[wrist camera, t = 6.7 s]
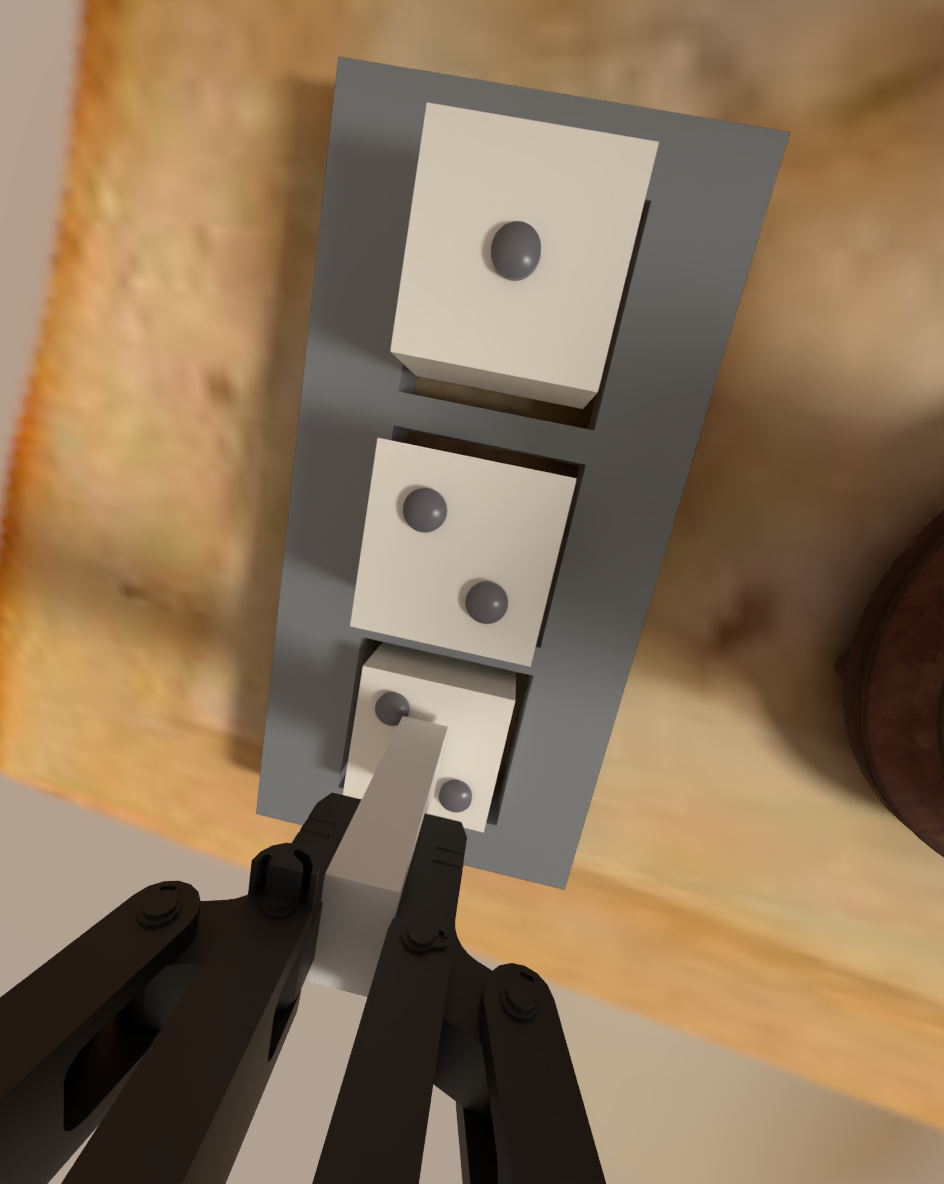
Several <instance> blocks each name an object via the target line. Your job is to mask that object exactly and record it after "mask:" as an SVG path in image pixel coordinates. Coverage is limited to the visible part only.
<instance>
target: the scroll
mask: <svg viewBox="0 0 944 1184" xmlns="http://www.w3.org/2000/svg"><path fill="white" fill-rule="evenodd" d="M834 667H835V670H836V673H837V675H838V677H839V678H840V680H841V681H842V682H843V683H844V709H845V721H846V726H847V731H848V736H849V741H850V744H851V747H852V750H853V753H854V756H855V759H856V761H857V763H858V765H859V767H860V769H861V771H862V774H863V775H864V777H865V779H866V780H867V782H868V784H869V785H870V787H871V788H872V790H873V792H874V793H875V794H876V795H877V797H878V798H879V799H880V800H881V802H882V803H883V804H884V805H885V807H886V808H887V809H888V810H889V811H890V812H891V813H892V814H893V815H894V816H895V817H896V818H897V819H898V820H899V821H901V822H902V823H903V824H904V825H905V826H906V827H907V828H909V829H910V830H911V831H912V832H913V833H914V834H915V835H916V836H917V837H918V838H919V839H921V840H922V841H923V842H924V843H925V844H927V845H928V846H929V847H930V848H932V849H933V850H934V851H935V852H937V853H938V854H940V855H941V856H943V857H944V511H942V512H941V513H940V514H939V515H937V516H936V517H935V518H934V519H933V520H932V521H931V522H930V523H929V524H928V525H927V526H926V527H925V528H924V529H923V530H922V531H921V532H920V533H918V534H917V536H916V537H915V538H914V539H913V540H912V541H911V542H910V543H909V545H908V546H907V547H906V548H905V549H904V550H903V551H902V552H901V554H900V555H899V556H898V558H897V559H896V560H895V562H894V563H893V564H892V566H891V567H890V568H889V570H888V571H887V572H886V574H885V575H884V577H883V578H882V580H881V582H880V583H879V585H878V586H877V588H876V590H875V591H874V593H873V594H872V596H871V598H870V600H869V602H868V604H867V606H866V608H865V610H864V613H863V615H862V617H861V619H860V622H859V625H858V627H857V630H856V632H855V635H854V638H853V641H852V645H851V649H850V653H849V656H845V657H840V658H838V659H837V660H836V661H835V664H834Z"/></svg>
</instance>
